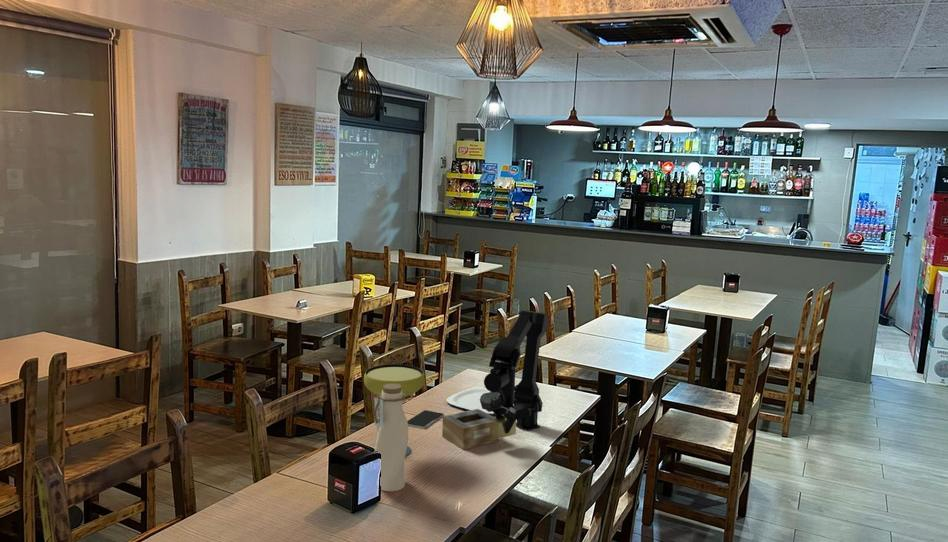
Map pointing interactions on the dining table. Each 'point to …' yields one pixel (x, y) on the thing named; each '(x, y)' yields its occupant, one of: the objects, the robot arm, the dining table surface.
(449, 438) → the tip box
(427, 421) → the smartphone
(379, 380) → the cocktail glass
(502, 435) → the wooden block
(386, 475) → the water bottle
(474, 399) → the plate
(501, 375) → the robot arm
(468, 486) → the dining table surface
